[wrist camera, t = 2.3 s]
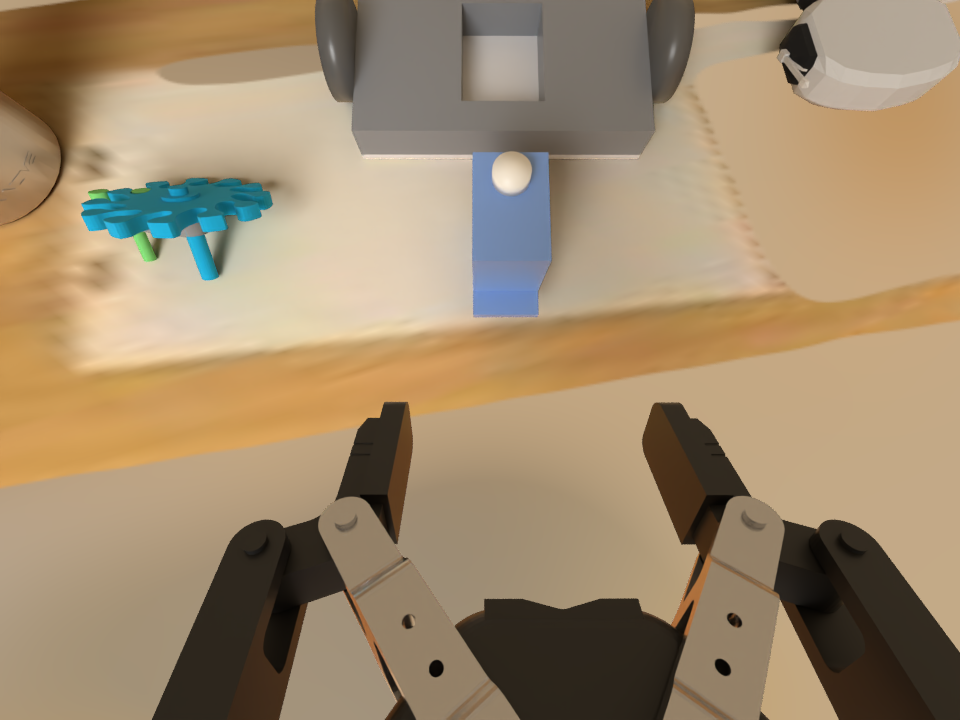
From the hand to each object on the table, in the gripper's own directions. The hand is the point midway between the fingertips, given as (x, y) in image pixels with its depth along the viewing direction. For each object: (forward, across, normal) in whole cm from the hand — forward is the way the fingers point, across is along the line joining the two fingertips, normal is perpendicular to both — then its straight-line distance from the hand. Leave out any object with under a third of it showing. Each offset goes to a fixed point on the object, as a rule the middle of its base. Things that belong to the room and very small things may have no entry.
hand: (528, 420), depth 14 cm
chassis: (+28, 0, -8) cm, 29 cm away
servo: (+18, 0, +2) cm, 18 cm away
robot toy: (+31, -25, -10) cm, 41 cm away
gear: (+20, +20, +1) cm, 28 cm away
